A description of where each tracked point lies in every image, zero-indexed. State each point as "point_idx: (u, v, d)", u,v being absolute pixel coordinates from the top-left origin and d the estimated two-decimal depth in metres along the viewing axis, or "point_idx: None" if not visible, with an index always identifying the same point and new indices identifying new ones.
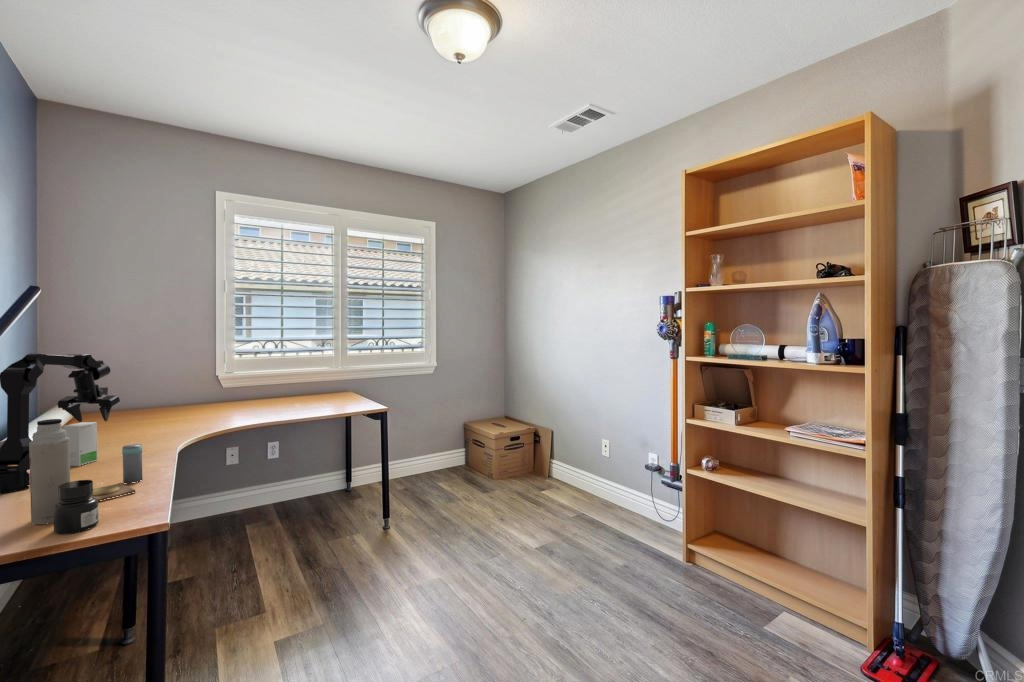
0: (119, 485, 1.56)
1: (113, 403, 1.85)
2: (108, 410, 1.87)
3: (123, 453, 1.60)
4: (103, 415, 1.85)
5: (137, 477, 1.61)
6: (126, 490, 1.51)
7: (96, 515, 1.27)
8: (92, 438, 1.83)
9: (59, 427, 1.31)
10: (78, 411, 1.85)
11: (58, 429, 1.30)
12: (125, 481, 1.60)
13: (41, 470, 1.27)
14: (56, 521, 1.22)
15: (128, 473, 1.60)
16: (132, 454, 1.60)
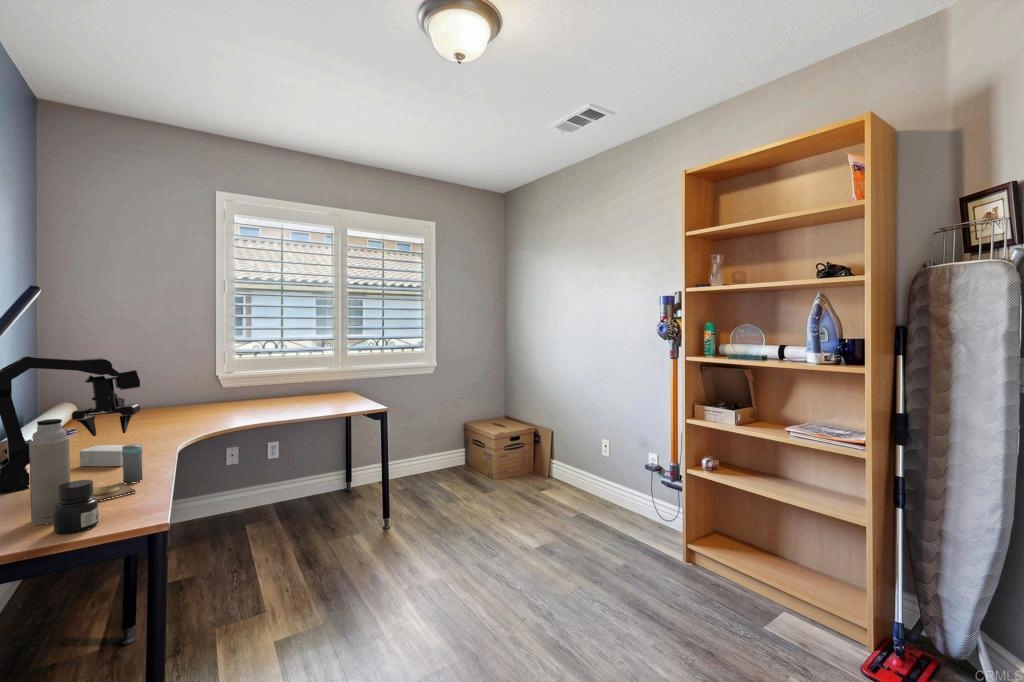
0: (119, 485, 1.56)
1: (135, 411, 1.72)
2: (127, 420, 1.73)
3: (123, 453, 1.60)
4: (123, 425, 1.71)
5: (137, 477, 1.61)
6: (126, 490, 1.51)
7: (96, 515, 1.27)
8: None
9: (59, 427, 1.31)
10: (93, 424, 1.70)
11: (58, 429, 1.30)
12: (125, 481, 1.60)
13: (41, 470, 1.27)
14: (56, 521, 1.22)
15: (128, 473, 1.60)
16: (132, 454, 1.60)
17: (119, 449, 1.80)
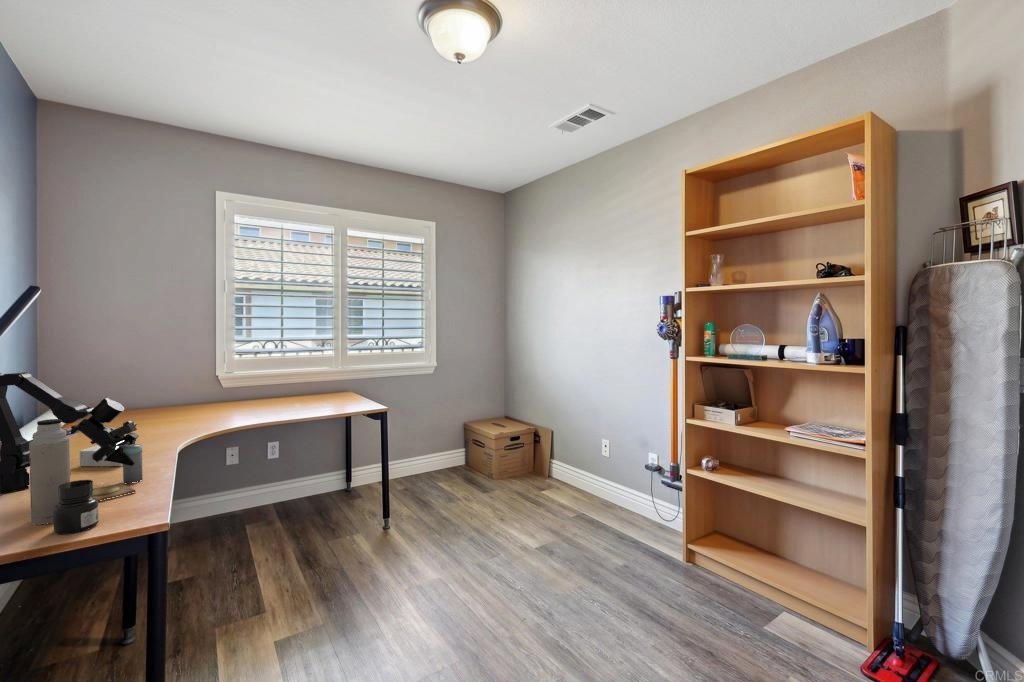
0: (119, 485, 1.56)
1: (99, 457, 1.52)
2: (121, 456, 1.58)
3: None
4: None
5: (137, 477, 1.61)
6: (126, 490, 1.51)
7: (96, 515, 1.27)
8: None
9: (59, 427, 1.31)
10: None
11: (58, 429, 1.30)
12: (125, 481, 1.60)
13: (41, 470, 1.27)
14: (56, 521, 1.22)
15: (128, 473, 1.60)
16: (132, 454, 1.60)
17: None
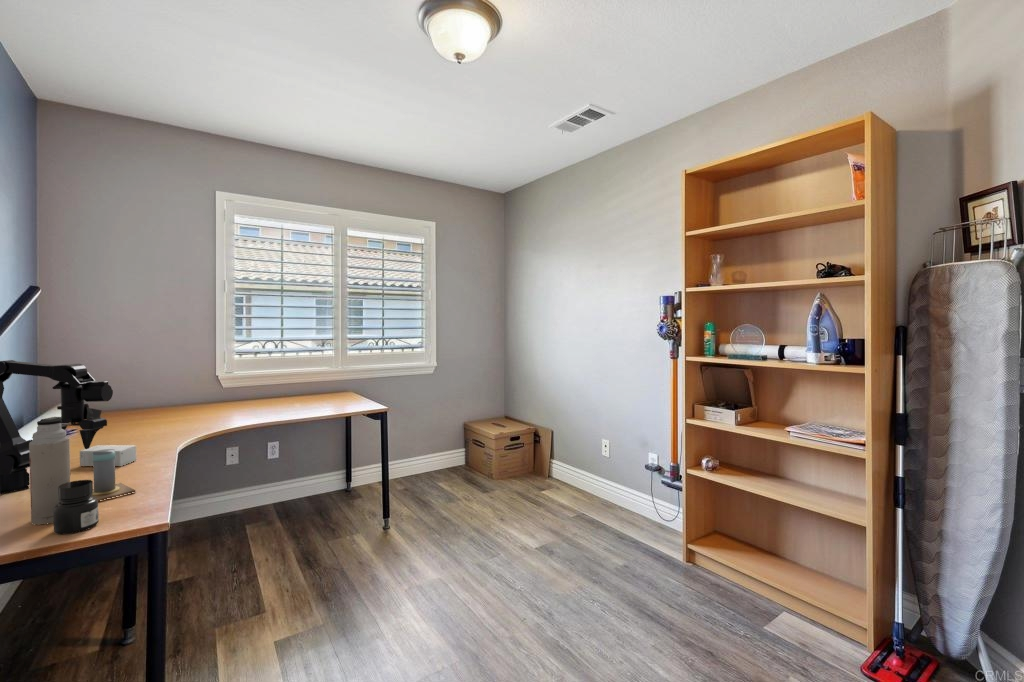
0: (119, 485, 1.56)
1: (96, 425, 1.54)
2: (91, 435, 1.56)
3: (93, 459, 1.48)
4: (83, 440, 1.54)
5: (105, 486, 1.48)
6: (126, 490, 1.51)
7: (96, 515, 1.27)
8: None
9: (59, 427, 1.31)
10: None
11: (58, 429, 1.30)
12: (94, 489, 1.48)
13: (41, 470, 1.27)
14: (56, 521, 1.22)
15: (96, 481, 1.47)
16: (99, 461, 1.47)
17: (119, 449, 1.80)
